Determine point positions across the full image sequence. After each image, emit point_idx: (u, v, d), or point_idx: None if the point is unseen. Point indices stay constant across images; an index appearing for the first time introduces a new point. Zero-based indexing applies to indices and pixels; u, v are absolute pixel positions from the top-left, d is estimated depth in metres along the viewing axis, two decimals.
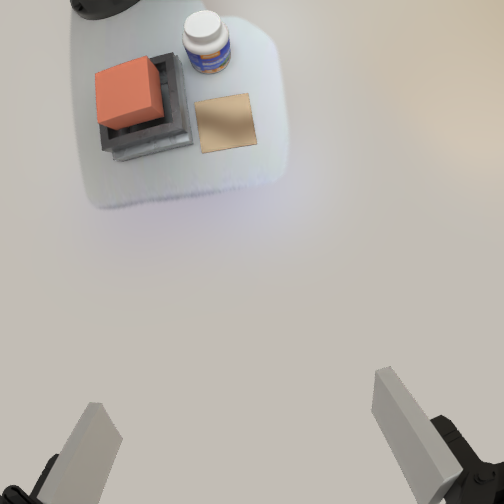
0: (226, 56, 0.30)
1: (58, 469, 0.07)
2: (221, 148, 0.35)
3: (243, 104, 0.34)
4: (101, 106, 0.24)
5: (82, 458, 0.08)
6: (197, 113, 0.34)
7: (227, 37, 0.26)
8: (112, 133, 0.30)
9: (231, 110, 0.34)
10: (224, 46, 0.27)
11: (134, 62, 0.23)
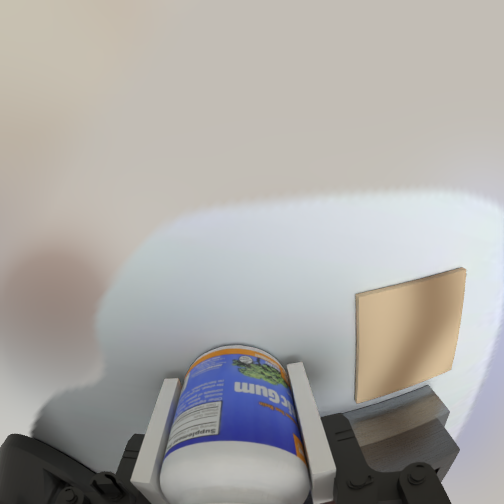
0: (269, 387, 0.11)
1: (150, 446, 0.09)
2: (456, 338, 0.14)
3: (387, 305, 0.13)
4: None
5: (169, 433, 0.10)
6: (382, 393, 0.14)
7: (251, 457, 0.07)
8: None
9: (394, 332, 0.13)
10: (279, 446, 0.08)
11: None
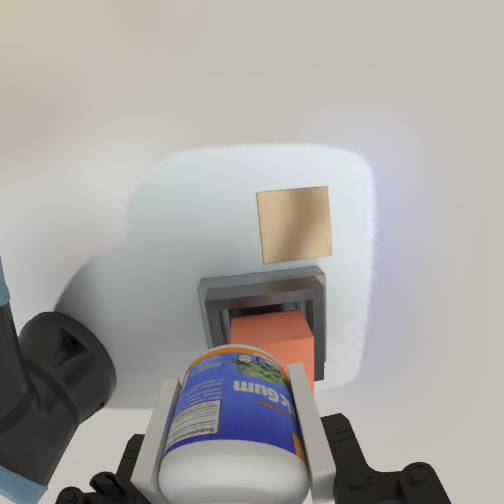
0: (269, 386, 0.11)
1: (149, 446, 0.09)
2: (329, 231, 0.29)
3: (274, 199, 0.28)
4: None
5: None
6: (280, 259, 0.29)
7: (250, 456, 0.07)
8: None
9: (280, 216, 0.28)
10: (278, 444, 0.08)
11: None
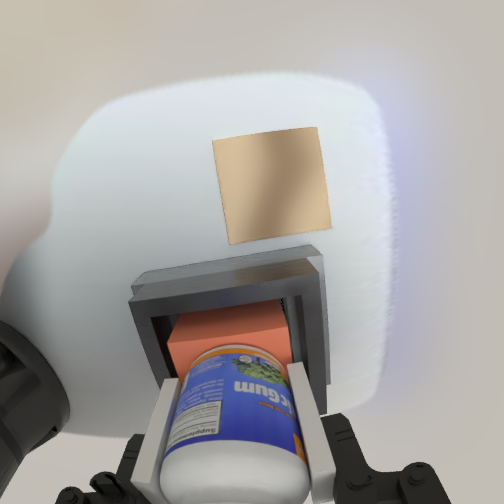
0: (269, 387, 0.11)
1: (149, 446, 0.09)
2: (325, 192, 0.19)
3: (237, 148, 0.18)
4: None
5: (169, 433, 0.10)
6: (253, 237, 0.20)
7: (251, 457, 0.07)
8: None
9: (249, 172, 0.19)
10: (279, 445, 0.08)
11: (181, 364, 0.14)
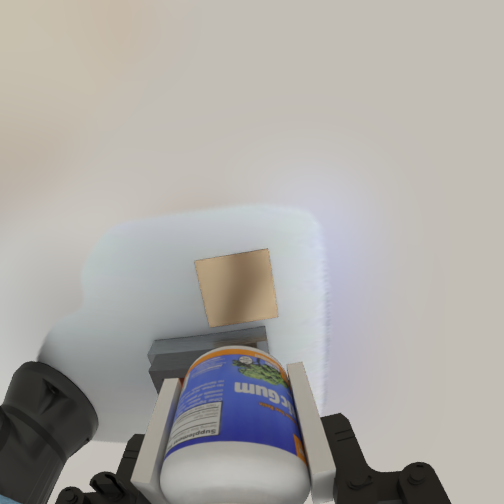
0: (269, 388, 0.11)
1: (150, 446, 0.09)
2: (273, 294, 0.28)
3: (212, 267, 0.27)
4: None
5: (169, 433, 0.10)
6: (225, 323, 0.29)
7: (251, 458, 0.07)
8: None
9: (220, 283, 0.28)
10: (280, 446, 0.08)
11: None
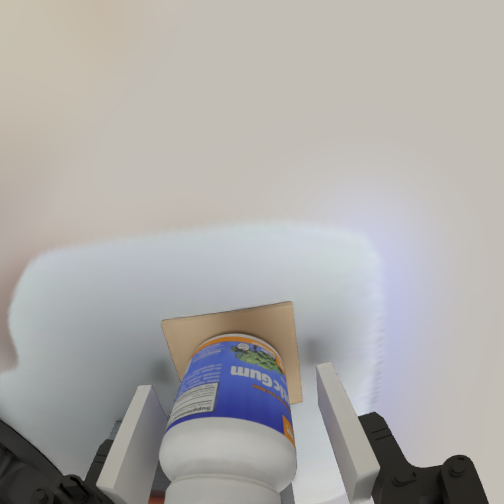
0: (263, 372, 0.12)
1: (117, 453, 0.08)
2: (297, 372, 0.16)
3: (192, 333, 0.15)
4: None
5: (138, 440, 0.10)
6: None
7: (240, 433, 0.08)
8: None
9: None
10: (268, 424, 0.09)
11: None
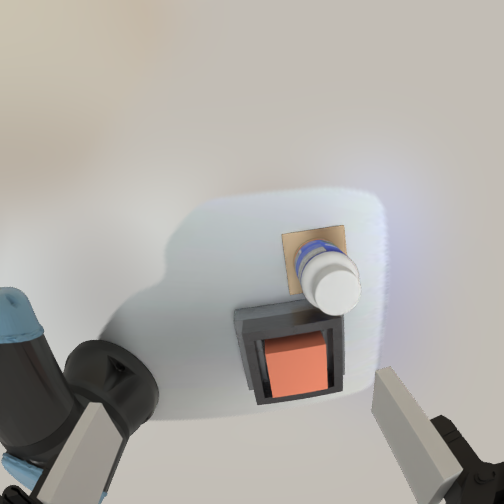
0: (337, 247, 0.28)
1: (58, 469, 0.07)
2: None
3: (297, 240, 0.32)
4: (312, 387, 0.28)
5: (82, 458, 0.08)
6: None
7: (340, 254, 0.25)
8: None
9: None
10: (347, 256, 0.25)
11: (271, 364, 0.28)
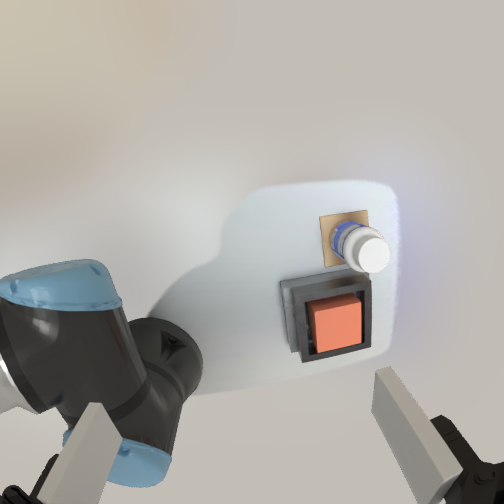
0: None
1: (58, 469, 0.07)
2: None
3: (331, 221, 0.38)
4: (349, 342, 0.35)
5: (82, 458, 0.08)
6: (336, 263, 0.40)
7: (372, 228, 0.32)
8: None
9: None
10: None
11: (318, 321, 0.34)
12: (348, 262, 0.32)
